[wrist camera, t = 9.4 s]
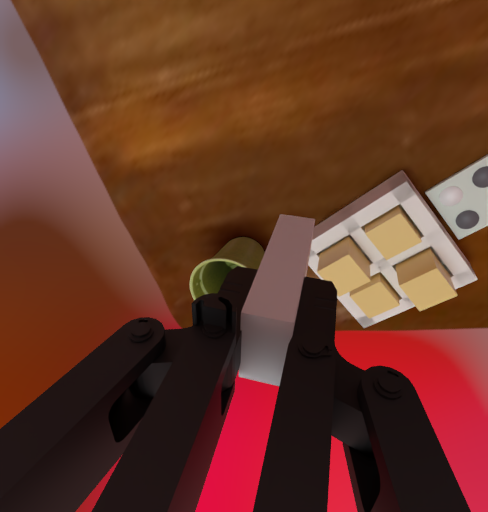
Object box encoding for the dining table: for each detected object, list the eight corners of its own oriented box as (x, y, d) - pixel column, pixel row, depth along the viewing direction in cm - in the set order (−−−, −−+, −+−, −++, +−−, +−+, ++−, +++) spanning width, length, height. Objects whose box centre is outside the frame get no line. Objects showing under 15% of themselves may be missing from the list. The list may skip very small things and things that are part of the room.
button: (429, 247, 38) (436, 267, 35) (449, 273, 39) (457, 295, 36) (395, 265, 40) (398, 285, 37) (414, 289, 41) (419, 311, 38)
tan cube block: (378, 262, 43) (380, 281, 40) (396, 285, 44) (399, 305, 41) (349, 277, 45) (349, 296, 42) (368, 298, 46) (369, 318, 43)
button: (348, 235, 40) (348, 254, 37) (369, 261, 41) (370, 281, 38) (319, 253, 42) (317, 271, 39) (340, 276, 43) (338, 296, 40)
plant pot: (206, 269, 52) (183, 307, 45) (220, 214, 47) (196, 247, 40) (266, 292, 51) (253, 334, 44) (287, 239, 46) (275, 277, 39)
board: (402, 169, 38) (406, 181, 35) (468, 261, 41) (477, 279, 38) (299, 236, 45) (295, 250, 42) (363, 310, 49) (363, 328, 46)
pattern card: (493, 150, 35) (495, 152, 34) (527, 203, 37) (529, 205, 36) (424, 191, 39) (425, 193, 38) (457, 238, 40) (459, 240, 40)
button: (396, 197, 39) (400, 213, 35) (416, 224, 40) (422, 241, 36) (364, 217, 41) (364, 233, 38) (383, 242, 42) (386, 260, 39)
